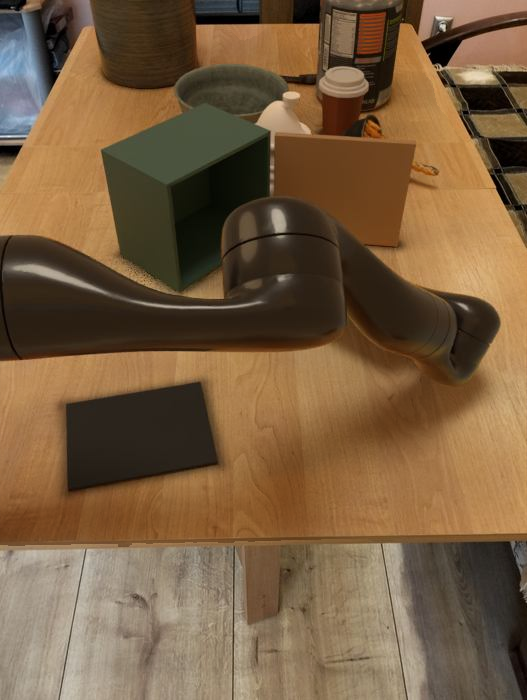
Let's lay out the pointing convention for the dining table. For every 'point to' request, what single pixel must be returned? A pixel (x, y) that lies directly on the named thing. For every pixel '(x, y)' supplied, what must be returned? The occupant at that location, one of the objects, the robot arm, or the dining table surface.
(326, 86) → the coffee cup
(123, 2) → the planter
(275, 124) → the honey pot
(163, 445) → the mat
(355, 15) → the supplement tub
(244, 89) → the bowl
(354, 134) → the fried food
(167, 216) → the cupboard
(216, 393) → the dining table surface
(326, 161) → the cupboard door
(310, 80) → the knife
